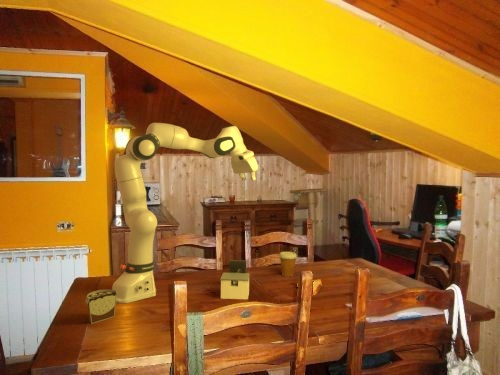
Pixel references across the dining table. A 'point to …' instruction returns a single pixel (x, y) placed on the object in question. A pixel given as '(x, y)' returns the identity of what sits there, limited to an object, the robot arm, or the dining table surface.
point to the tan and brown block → (101, 305)
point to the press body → (235, 286)
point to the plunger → (237, 267)
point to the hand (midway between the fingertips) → (249, 180)
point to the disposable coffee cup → (287, 263)
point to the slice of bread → (316, 286)
